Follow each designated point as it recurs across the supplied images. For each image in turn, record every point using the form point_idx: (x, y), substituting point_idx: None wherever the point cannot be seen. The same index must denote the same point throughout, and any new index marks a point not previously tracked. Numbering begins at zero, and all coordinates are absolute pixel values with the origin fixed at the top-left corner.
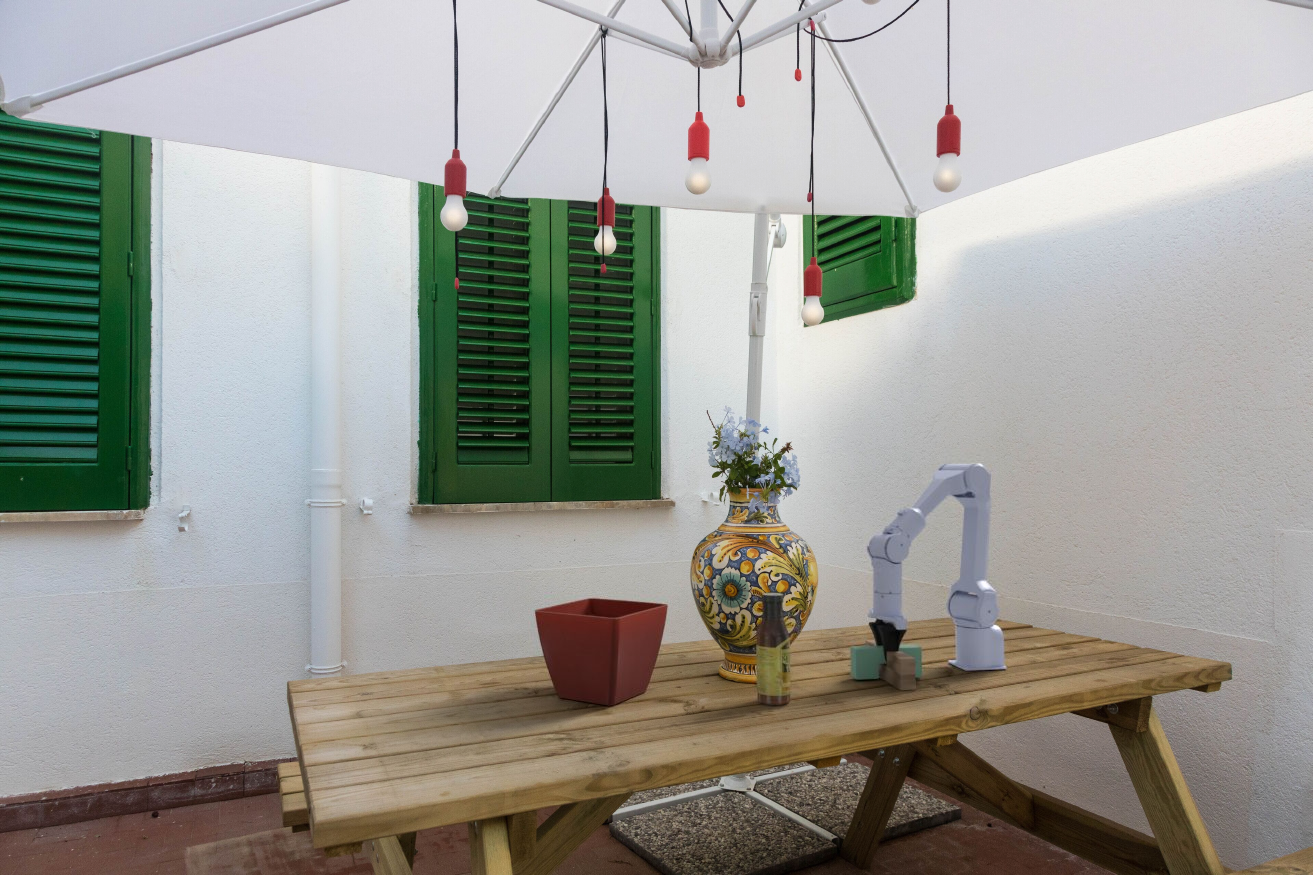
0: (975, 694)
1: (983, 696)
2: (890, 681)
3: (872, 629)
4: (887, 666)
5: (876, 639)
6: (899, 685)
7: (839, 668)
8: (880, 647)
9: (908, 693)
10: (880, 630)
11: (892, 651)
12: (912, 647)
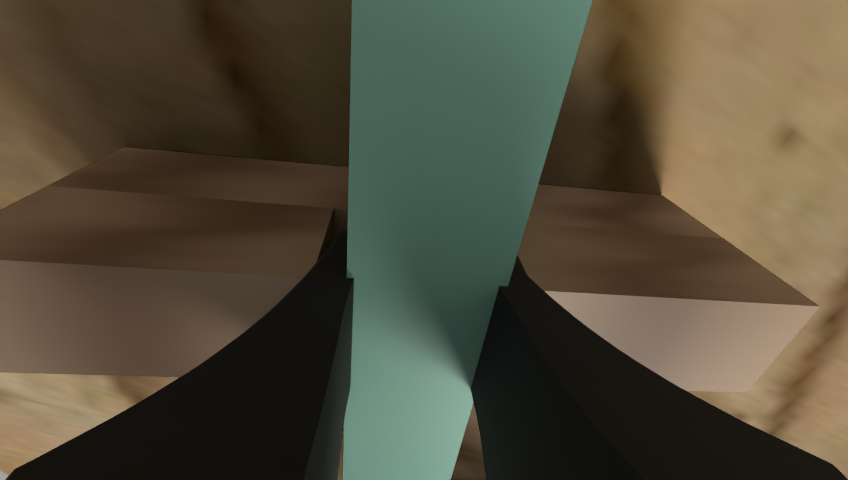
0: (85, 402)
1: (55, 412)
2: (290, 166)
3: (666, 417)
4: (322, 208)
5: (533, 326)
6: (134, 156)
7: (776, 21)
8: (412, 275)
9: (46, 153)
10: (135, 472)
11: None
12: (352, 467)
